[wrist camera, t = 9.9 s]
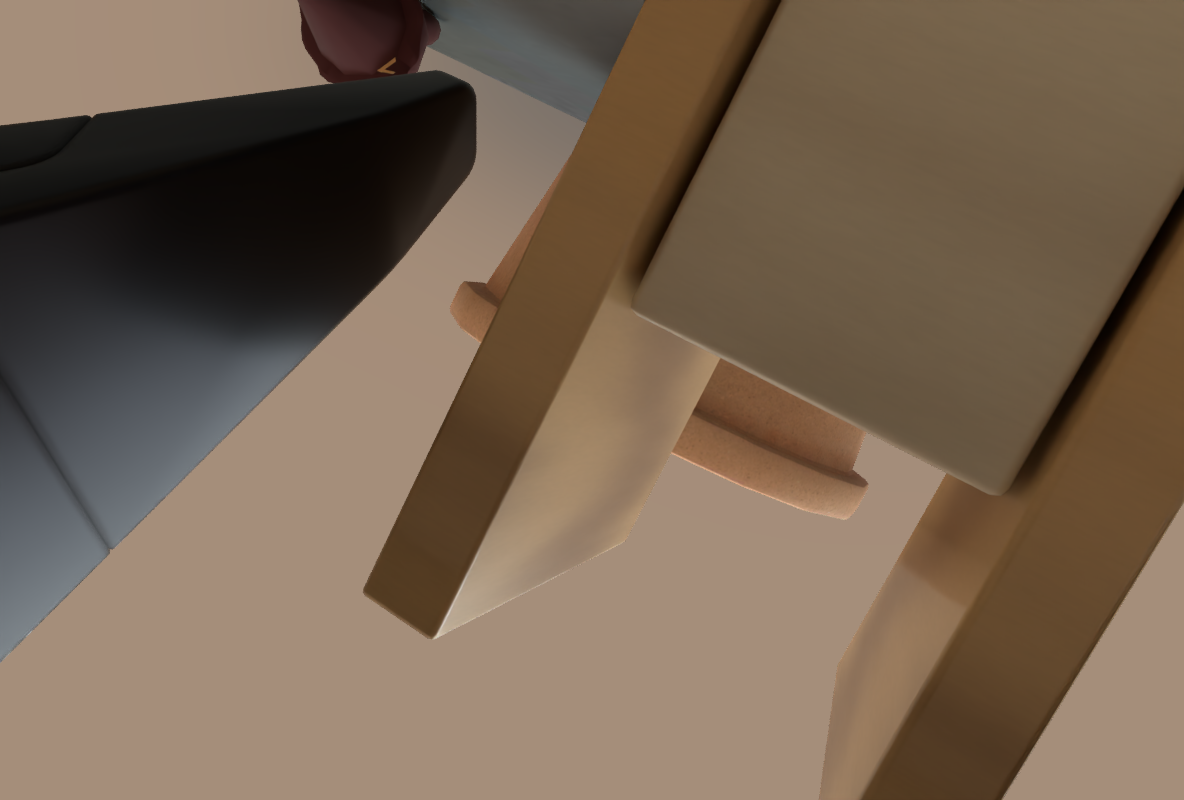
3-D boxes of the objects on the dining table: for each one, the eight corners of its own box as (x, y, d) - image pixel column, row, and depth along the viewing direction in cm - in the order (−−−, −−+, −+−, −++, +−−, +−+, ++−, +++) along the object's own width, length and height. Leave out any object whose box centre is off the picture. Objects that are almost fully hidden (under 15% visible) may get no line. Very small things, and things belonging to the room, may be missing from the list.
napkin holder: (1153, -1069, 6) (356, 594, 8) (2150, -1073, 4) (905, 969, 6) (1015, -339, 12) (579, 516, 13) (1435, -241, 10) (889, 701, 12)
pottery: (1042, 158, 28) (826, 547, 30) (989, 277, 49) (864, 502, 50) (504, -42, 35) (357, 282, 37) (657, 135, 56) (558, 337, 57)
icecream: (196, -4, 41) (337, 65, 56) (313, 99, 41) (424, 141, 56) (278, -133, 40) (402, -27, 54) (400, -26, 40) (491, 51, 54)
